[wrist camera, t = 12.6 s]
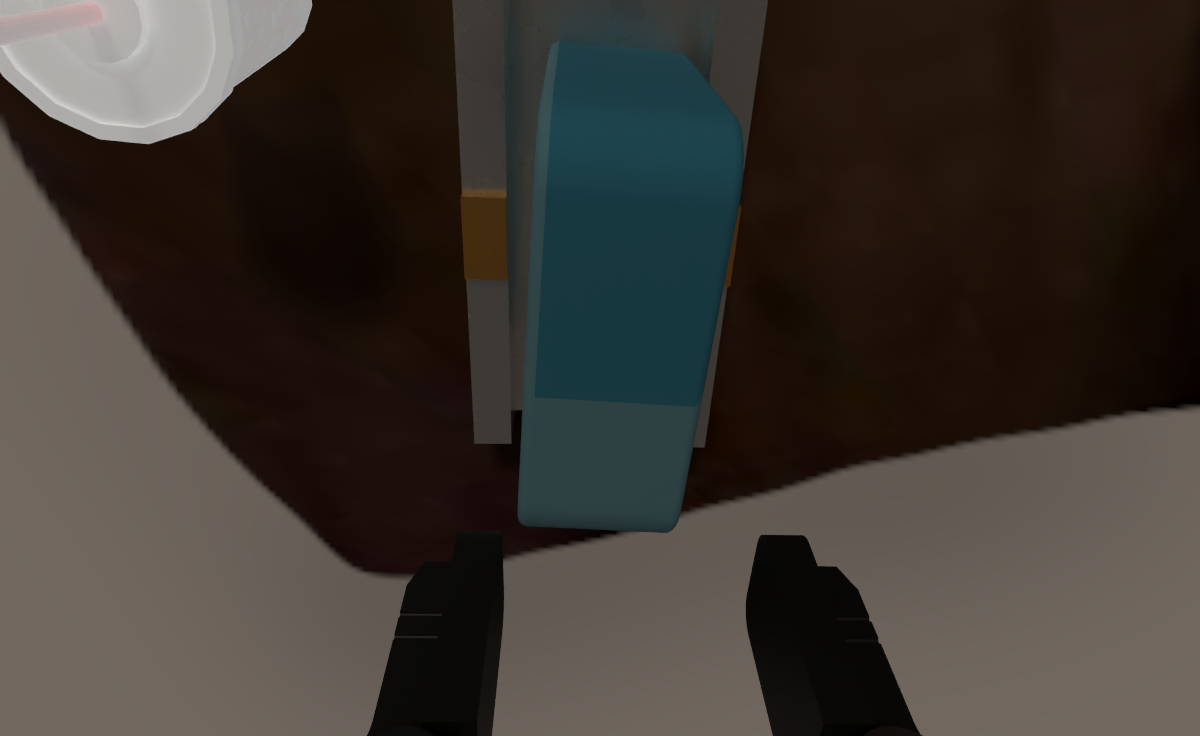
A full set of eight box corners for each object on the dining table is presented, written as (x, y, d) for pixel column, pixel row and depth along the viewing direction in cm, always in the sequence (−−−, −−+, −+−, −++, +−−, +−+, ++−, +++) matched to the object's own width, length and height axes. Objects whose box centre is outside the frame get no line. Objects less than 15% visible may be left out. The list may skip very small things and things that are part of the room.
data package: (641, 351, 32) (673, 558, 22) (534, 344, 32) (515, 551, 21) (684, 46, 26) (756, 131, 16) (551, 33, 26) (536, 112, 15)
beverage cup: (252, -167, 23) (-91, -258, 11) (372, 25, 26) (200, 116, 14) (103, -61, 25) (-346, -41, 13) (233, 110, 27) (-33, 261, 15)
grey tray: (758, -49, 25) (785, -44, 22) (698, 401, 35) (711, 453, 31) (456, -64, 25) (438, -61, 22) (477, 396, 34) (467, 449, 31)
